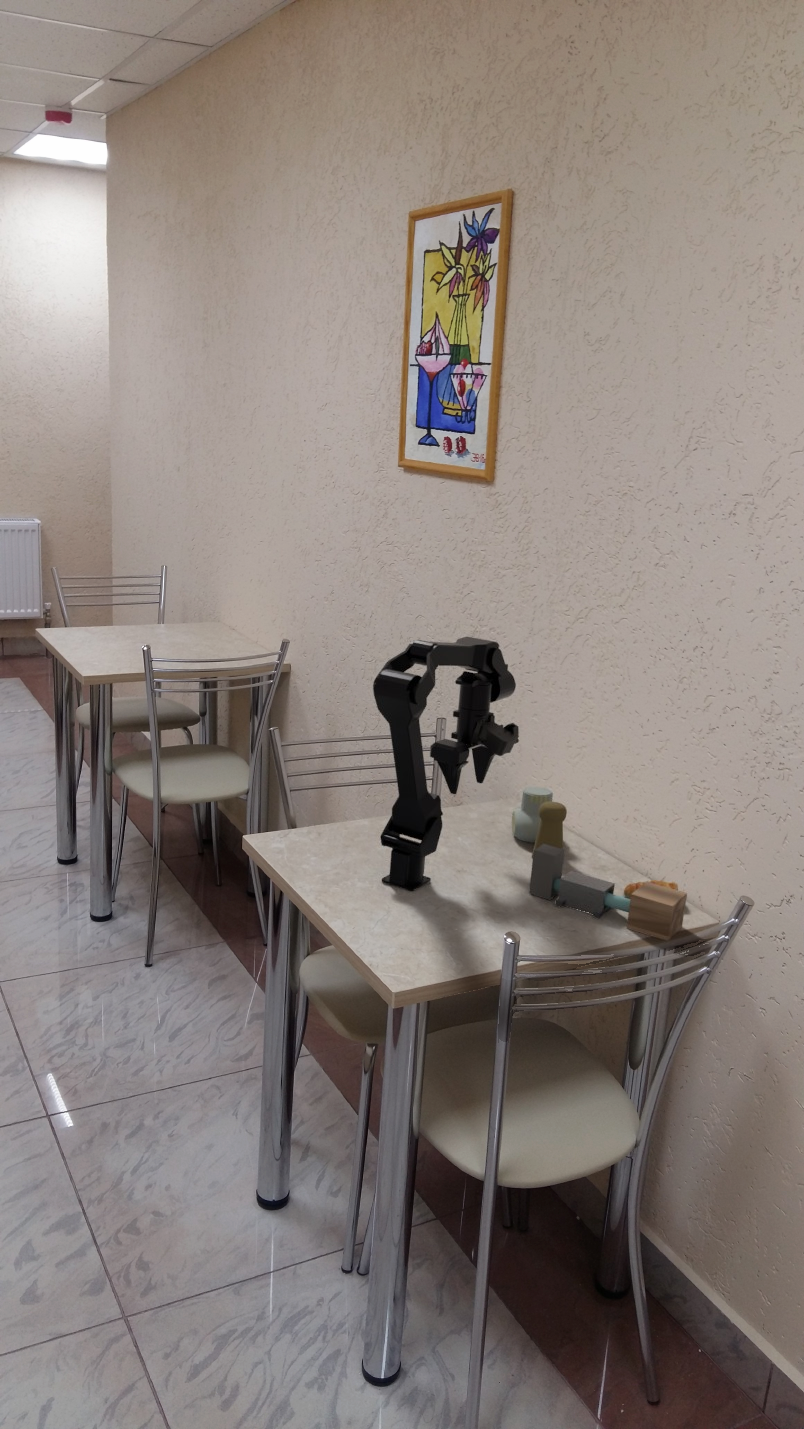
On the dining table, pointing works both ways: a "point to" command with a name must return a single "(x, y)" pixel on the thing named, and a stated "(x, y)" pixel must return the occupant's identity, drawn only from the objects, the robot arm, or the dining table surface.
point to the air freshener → (529, 813)
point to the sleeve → (584, 893)
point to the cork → (551, 825)
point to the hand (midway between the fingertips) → (466, 788)
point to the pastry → (635, 886)
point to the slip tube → (559, 877)
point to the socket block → (656, 910)
